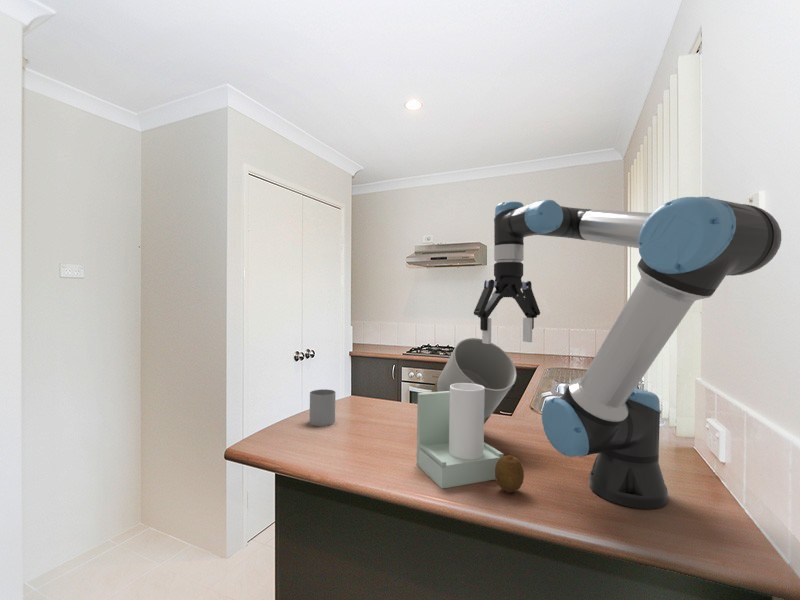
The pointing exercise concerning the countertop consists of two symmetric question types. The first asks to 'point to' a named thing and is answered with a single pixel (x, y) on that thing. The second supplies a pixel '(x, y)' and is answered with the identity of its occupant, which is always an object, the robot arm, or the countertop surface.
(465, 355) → the planter
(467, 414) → the cup
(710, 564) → the countertop surface
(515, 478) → the fruit
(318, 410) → the cup
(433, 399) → the mint green bookend
